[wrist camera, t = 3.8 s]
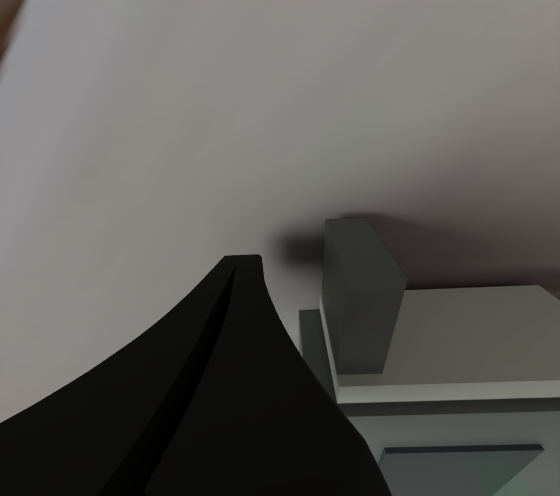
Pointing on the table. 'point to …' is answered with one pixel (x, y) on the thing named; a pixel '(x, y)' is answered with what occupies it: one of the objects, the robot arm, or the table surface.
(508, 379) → the side door
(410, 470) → the camera body
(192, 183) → the table surface
